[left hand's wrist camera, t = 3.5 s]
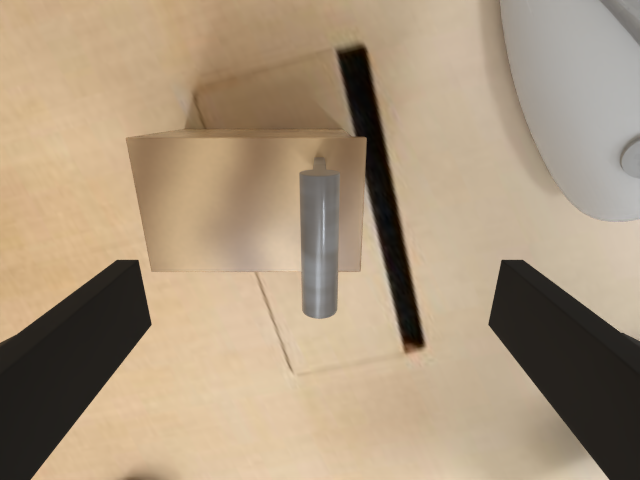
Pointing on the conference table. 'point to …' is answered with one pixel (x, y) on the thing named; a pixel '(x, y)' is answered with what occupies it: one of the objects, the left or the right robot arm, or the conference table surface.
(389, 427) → the conference table surface
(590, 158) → the projector
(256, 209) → the lid
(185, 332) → the conference table surface
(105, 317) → the left robot arm
